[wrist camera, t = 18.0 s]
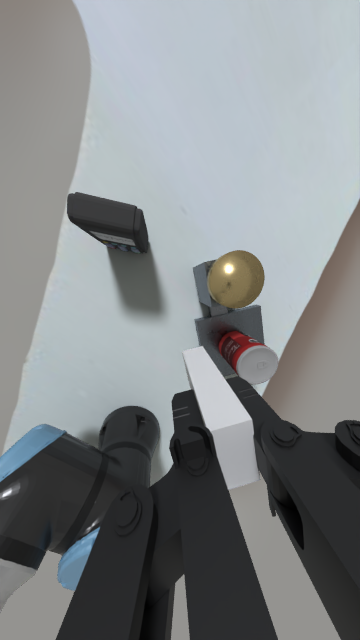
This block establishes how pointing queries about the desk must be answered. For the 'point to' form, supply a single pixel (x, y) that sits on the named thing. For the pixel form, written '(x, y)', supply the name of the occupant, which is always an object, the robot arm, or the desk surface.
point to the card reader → (109, 221)
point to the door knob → (235, 279)
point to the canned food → (248, 357)
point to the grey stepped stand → (223, 321)
